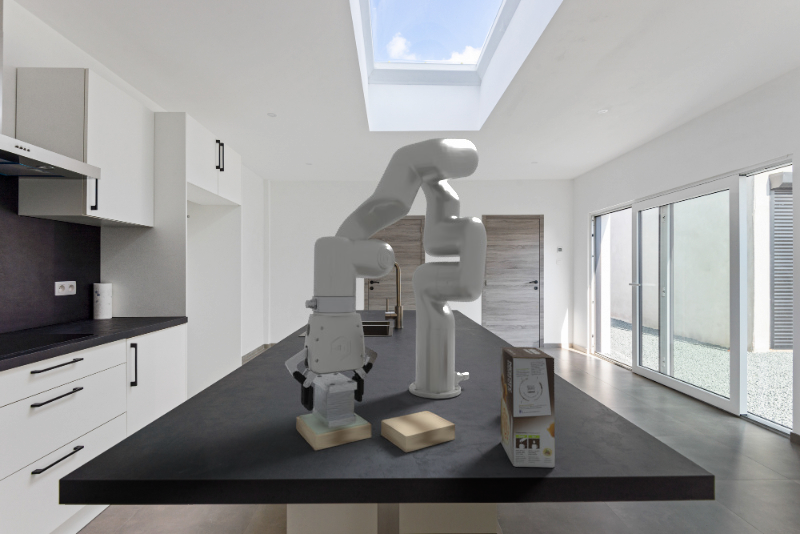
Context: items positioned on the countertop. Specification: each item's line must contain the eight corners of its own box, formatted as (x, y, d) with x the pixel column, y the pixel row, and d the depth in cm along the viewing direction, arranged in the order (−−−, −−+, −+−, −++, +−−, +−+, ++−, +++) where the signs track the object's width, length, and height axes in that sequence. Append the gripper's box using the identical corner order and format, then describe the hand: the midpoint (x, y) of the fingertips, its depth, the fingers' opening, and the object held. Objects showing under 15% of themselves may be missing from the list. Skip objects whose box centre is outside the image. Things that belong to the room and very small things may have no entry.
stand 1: (347, 418, 75) (347, 406, 75) (371, 437, 66) (371, 422, 66) (296, 429, 69) (296, 415, 69) (315, 450, 61) (315, 434, 61)
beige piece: (427, 423, 72) (427, 410, 72) (454, 439, 66) (455, 424, 66) (381, 434, 67) (381, 420, 67) (406, 452, 60) (406, 436, 60)
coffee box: (557, 468, 56) (556, 357, 56) (512, 467, 56) (512, 357, 56) (536, 441, 65) (536, 346, 65) (498, 441, 65) (498, 346, 66)
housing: (356, 423, 66) (356, 381, 66) (328, 429, 63) (329, 385, 63) (338, 409, 73) (338, 372, 73) (312, 414, 70) (313, 375, 70)
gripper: (292, 309, 61) (290, 419, 60) (387, 306, 70) (386, 401, 69) (279, 306, 67) (278, 406, 66) (368, 303, 76) (367, 391, 76)
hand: (333, 403), depth 68 cm, fingers open, 8 cm apart
